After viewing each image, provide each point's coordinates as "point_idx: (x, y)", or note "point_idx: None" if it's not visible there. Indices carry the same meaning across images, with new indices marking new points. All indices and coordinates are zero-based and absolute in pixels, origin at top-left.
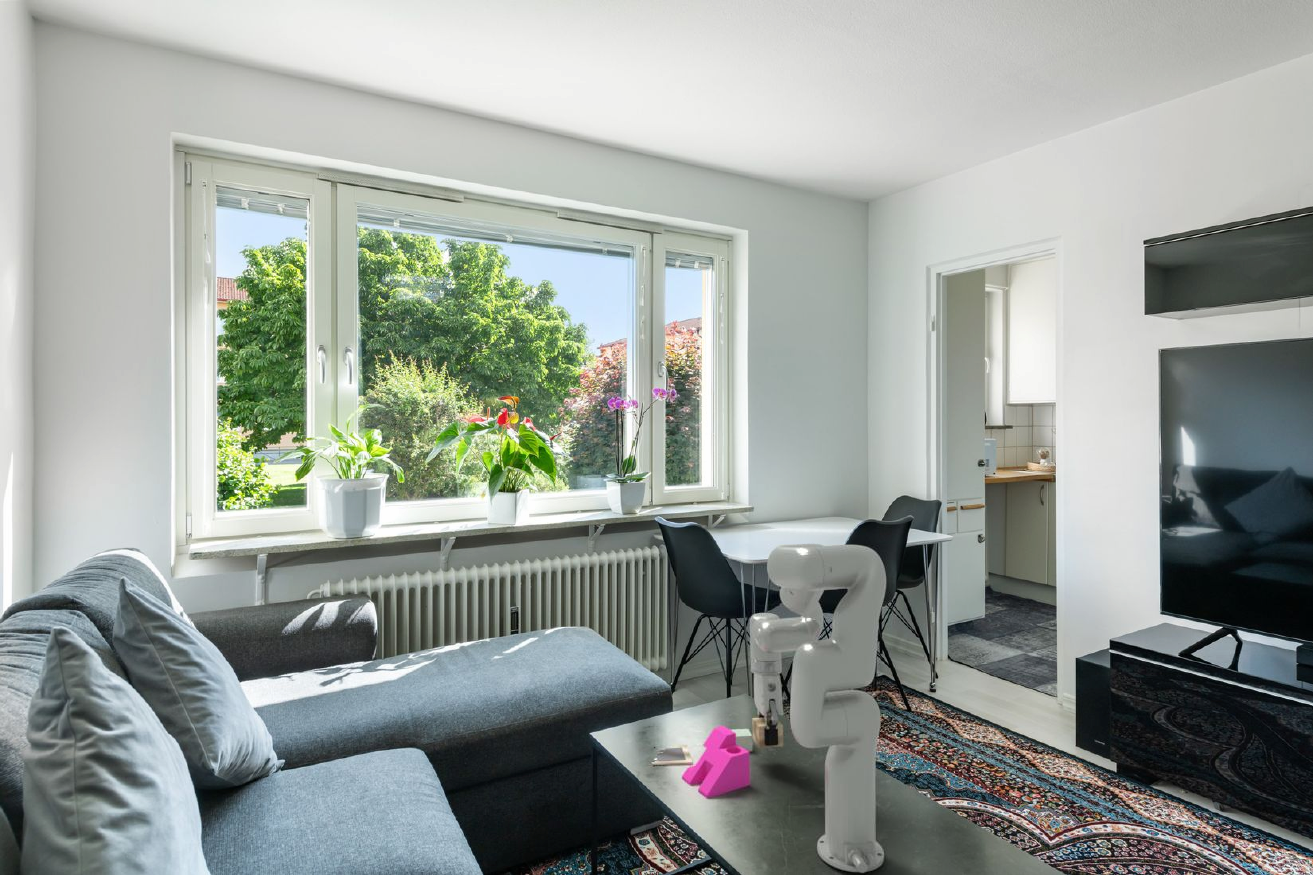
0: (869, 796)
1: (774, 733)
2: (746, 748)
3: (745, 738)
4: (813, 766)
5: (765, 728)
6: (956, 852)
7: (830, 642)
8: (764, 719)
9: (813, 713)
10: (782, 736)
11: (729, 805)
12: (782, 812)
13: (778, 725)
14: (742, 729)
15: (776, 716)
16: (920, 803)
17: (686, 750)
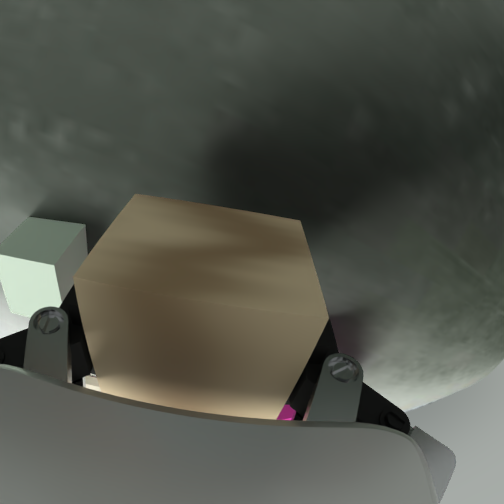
0: None
1: (333, 348)
2: (79, 256)
3: (63, 284)
4: (280, 19)
5: (288, 400)
6: None
7: None
8: (136, 372)
9: None
10: (308, 259)
11: (381, 371)
12: (469, 287)
13: (313, 346)
14: (2, 275)
15: (447, 475)
16: None
17: (96, 389)
